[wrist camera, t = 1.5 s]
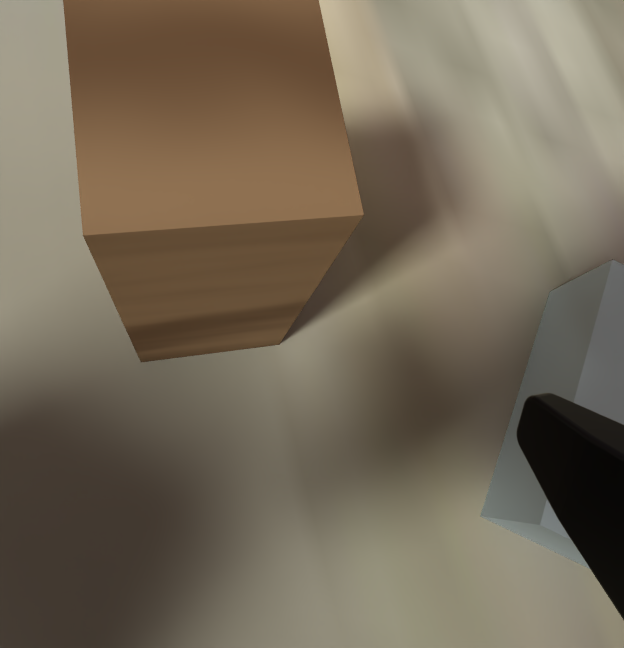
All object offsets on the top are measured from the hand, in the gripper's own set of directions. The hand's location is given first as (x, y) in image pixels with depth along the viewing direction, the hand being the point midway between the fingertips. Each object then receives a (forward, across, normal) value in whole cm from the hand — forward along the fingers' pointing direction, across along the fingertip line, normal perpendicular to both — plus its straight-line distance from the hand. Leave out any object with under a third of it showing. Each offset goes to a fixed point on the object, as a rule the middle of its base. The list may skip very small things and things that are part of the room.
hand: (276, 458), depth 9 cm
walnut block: (+14, 0, +4) cm, 15 cm away
